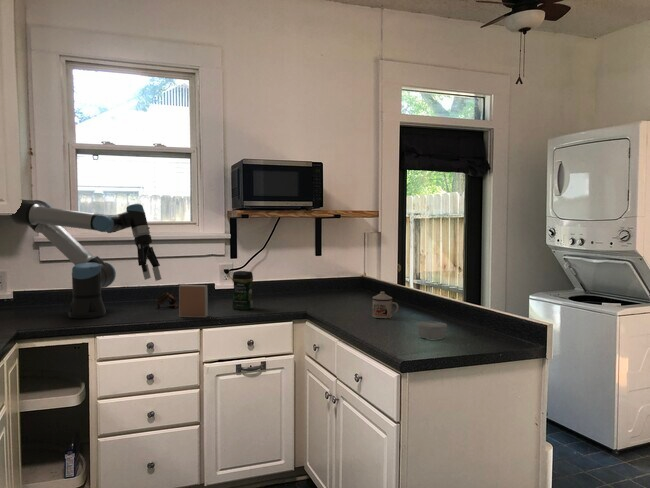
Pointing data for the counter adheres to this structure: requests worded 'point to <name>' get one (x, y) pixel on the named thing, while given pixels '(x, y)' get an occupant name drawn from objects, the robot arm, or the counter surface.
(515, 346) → the counter surface
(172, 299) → the dark brown irregular piece
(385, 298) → the teacup with lid
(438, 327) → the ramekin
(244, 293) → the coffee jar
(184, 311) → the picture frame
